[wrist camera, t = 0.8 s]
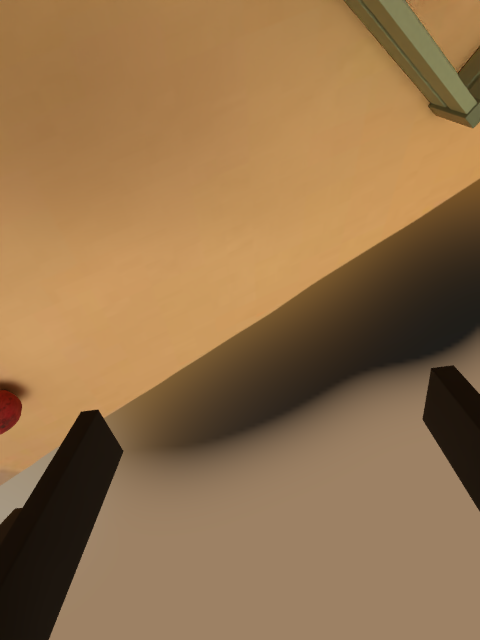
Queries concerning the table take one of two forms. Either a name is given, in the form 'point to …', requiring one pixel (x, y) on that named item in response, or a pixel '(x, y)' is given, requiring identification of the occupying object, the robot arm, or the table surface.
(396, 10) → the crate
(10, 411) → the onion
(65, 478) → the robot arm
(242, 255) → the table surface
